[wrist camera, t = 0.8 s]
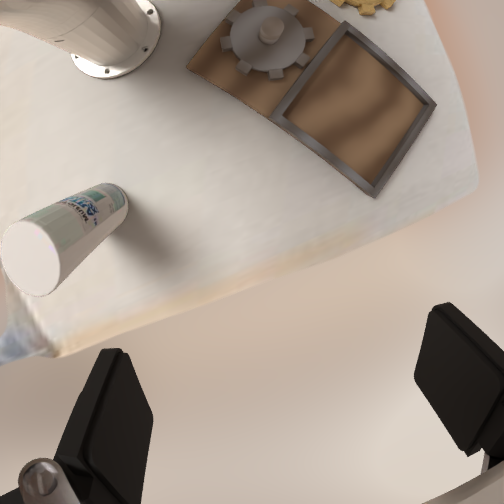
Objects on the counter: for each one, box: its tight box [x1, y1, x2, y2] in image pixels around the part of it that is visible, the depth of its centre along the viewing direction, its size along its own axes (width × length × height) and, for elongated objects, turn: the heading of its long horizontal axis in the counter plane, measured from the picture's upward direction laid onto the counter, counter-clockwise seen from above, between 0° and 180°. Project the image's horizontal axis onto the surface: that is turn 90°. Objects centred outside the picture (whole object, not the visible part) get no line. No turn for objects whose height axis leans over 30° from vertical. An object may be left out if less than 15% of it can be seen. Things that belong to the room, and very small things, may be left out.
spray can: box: [0, 183, 128, 297], centre depth 30 cm, size 6×6×20 cm
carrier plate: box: [186, 0, 437, 198], centre depth 33 cm, size 29×17×6 cm, turn 56°
